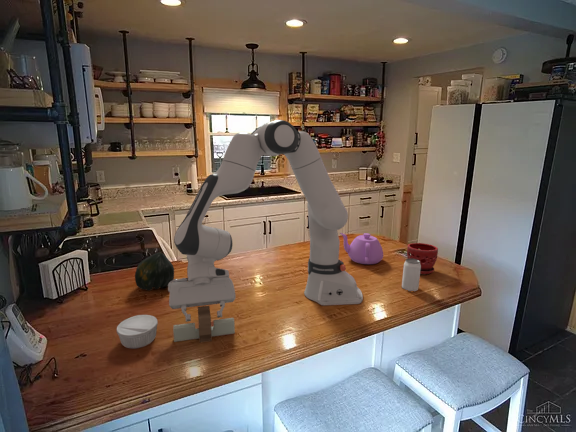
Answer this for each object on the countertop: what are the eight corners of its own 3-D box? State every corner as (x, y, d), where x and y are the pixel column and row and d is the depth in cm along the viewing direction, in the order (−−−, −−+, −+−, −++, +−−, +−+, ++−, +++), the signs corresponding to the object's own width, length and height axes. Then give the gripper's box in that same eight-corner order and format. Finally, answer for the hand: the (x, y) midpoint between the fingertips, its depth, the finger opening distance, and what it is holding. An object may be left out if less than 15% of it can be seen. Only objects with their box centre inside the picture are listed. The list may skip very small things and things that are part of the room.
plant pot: (441, 272, 158) (444, 247, 155) (423, 278, 151) (426, 252, 148) (416, 263, 169) (419, 240, 166) (399, 268, 161) (401, 244, 159)
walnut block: (198, 329, 109) (197, 306, 107) (210, 328, 110) (209, 305, 108) (199, 342, 102) (198, 318, 100) (211, 340, 103) (210, 316, 101)
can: (420, 288, 141) (424, 260, 138) (414, 293, 137) (417, 265, 134) (405, 283, 146) (408, 256, 143) (398, 288, 141) (401, 260, 138)
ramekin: (117, 355, 96) (115, 338, 95) (118, 334, 106) (117, 318, 105) (159, 346, 101) (158, 329, 99) (157, 326, 110) (156, 311, 109)
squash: (121, 275, 135) (138, 252, 129) (151, 264, 148) (168, 243, 142) (142, 304, 133) (160, 281, 126) (171, 290, 146) (188, 269, 140)
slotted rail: (233, 329, 109) (233, 317, 108) (234, 333, 107) (234, 321, 106) (174, 337, 104) (173, 325, 104) (174, 341, 102) (173, 329, 101)
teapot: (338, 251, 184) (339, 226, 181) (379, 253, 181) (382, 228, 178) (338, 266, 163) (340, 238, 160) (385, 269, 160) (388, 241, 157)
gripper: (167, 276, 106) (167, 320, 100) (233, 270, 112) (238, 311, 105) (168, 283, 112) (169, 326, 105) (231, 277, 117) (236, 317, 110)
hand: (204, 319), depth 105 cm, fingers open, 8 cm apart
